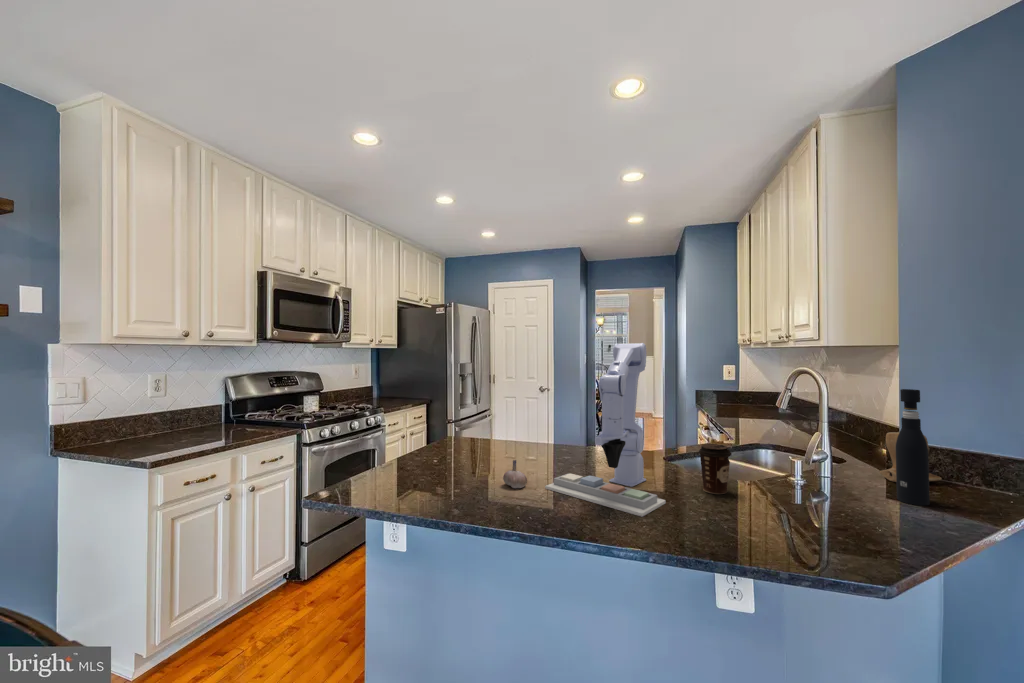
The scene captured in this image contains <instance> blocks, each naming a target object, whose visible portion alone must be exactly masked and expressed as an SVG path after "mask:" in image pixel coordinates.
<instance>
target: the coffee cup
mask: <svg viewBox="0 0 1024 683" xmlns="http://www.w3.org/2000/svg"><path fill="white" fill-rule="evenodd" d="M698 454H699V456H700V467H701V478H702V490H703V492H706V493H709V494H714V495H723V494H727V493H728V482H729V476H730V465H731V461H730V459H729V457H731V456H732V452H731V450H730V449H729V447H728V446H726V445H724V444H717V443H716V444H715V443H706V444H702V445H701V448H700V449H699V450H698Z"/></svg>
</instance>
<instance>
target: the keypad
mask: <svg viewBox="0 0 1024 683" xmlns="http://www.w3.org/2000/svg"><path fill="white" fill-rule="evenodd" d="M567 474H570V473H566V474H563V475H560V476H556V477H554V478H553V482H552V483H550V484H546V485H545V488H544V489H546V490H549V491H553V492H556V493H560V494H563V495H567V496H570V497H574V498H577V499H580V500H583V501H587V502H589V503H594V504H597V505H600V506H604V507H608V508H611V509H615V510H618V511H620V512H625V513H627V514H631V515H635V516H638V517H642V518H643V517H645V516H646V515H648V514H650V513H651V512H653V511H655V510H656V509H659V508H660V507H662V506H664V505H665V504H667V503H666V499H663V498H660V497H658V495H657V494H655V493H650V492H648V493H649V497H647V498H645V499H643V500H639V499H635V498H632V497H628V496H624V493H625V492H627V491H629V490H631V489H632V487H631V488H630V487H627V486H626V487H625V486H624V487H625V491H623V492H621V493H618V494H616V493H613V492H609V491H605V490H601V487H603V486H605V485H607V484H610V483H611V482H605V481H603V485H601V486H599V487H597V488H593V487H590V486H586V485H582V484H580V481H578V482H575V483H574V482H571V481H567V480H563V479H561V477H562V476H565V475H567ZM584 477H585V476H583V478H584Z"/></svg>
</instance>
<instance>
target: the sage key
mask: <svg viewBox="0 0 1024 683" xmlns="http://www.w3.org/2000/svg"><path fill="white" fill-rule="evenodd" d="M649 493H650V492H647V491H644V490H639V489H634V488H631V490H629V491H627V492H625V493H624V496H628V497H632V498H635V499H639V500H643V499H645V498H647V497H649Z"/></svg>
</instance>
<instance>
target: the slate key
mask: <svg viewBox="0 0 1024 683" xmlns="http://www.w3.org/2000/svg"><path fill="white" fill-rule="evenodd" d="M583 477H584V478H581V479H580V484H582V485H586V486H590V487H593V488H597V487H599V486H601V485H603V482H604V478H602V477H598V476H594V475H588V476H583Z"/></svg>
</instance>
